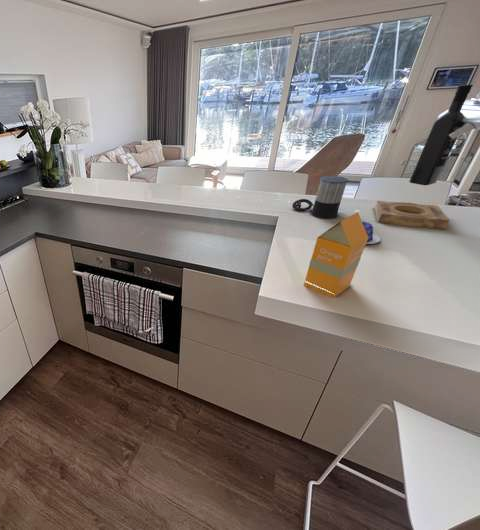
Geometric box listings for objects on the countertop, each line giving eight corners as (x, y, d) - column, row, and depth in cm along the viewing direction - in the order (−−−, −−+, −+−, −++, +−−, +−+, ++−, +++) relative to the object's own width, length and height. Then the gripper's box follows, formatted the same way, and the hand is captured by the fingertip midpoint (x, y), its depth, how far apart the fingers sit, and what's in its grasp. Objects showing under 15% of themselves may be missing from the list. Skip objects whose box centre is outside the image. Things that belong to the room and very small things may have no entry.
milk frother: (339, 219, 113) (351, 182, 106) (294, 217, 119) (302, 181, 112) (331, 207, 125) (342, 172, 117) (290, 205, 130) (298, 172, 123)
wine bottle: (436, 183, 101) (484, 83, 86) (426, 186, 100) (472, 85, 85) (417, 180, 106) (459, 85, 91) (407, 182, 104) (447, 86, 89)
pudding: (332, 230, 106) (336, 216, 103) (372, 232, 102) (377, 218, 99) (340, 244, 97) (345, 229, 94) (385, 247, 92) (391, 232, 90)
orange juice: (350, 285, 77) (377, 215, 67) (333, 298, 73) (360, 226, 63) (319, 274, 83) (340, 207, 73) (302, 285, 79) (322, 216, 69)
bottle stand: (433, 213, 111) (437, 204, 109) (445, 230, 99) (450, 220, 97) (374, 208, 120) (377, 200, 118) (378, 222, 108) (381, 214, 106)
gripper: (465, 91, 96) (416, 125, 103) (521, 91, 79) (458, 132, 86) (475, 105, 97) (426, 138, 104) (532, 108, 80) (469, 147, 87)
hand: (441, 135), depth 95 cm, fingers closed on wine bottle, 7 cm apart
